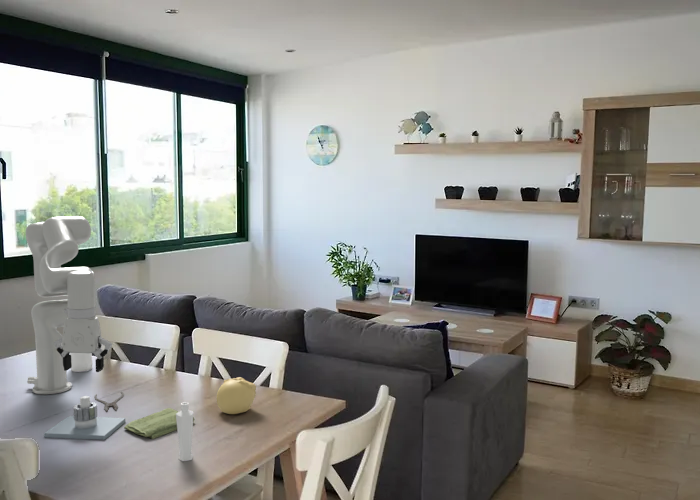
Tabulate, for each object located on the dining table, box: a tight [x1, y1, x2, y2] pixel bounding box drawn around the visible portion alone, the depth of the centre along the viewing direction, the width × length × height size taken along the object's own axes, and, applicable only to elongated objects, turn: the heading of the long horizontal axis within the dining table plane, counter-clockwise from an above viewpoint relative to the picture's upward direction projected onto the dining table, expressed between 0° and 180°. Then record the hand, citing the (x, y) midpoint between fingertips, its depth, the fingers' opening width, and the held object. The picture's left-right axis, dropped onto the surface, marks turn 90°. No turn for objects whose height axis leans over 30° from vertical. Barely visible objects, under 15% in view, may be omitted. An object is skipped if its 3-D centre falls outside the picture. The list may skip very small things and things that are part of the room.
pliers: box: [93, 391, 125, 413], centre depth 220 cm, size 10×1×20 cm
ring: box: [72, 401, 98, 421], centre depth 194 cm, size 6×6×4 cm
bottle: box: [69, 353, 93, 373], centre depth 255 cm, size 8×8×30 cm
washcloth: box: [123, 407, 195, 440], centre depth 197 cm, size 13×18×3 cm
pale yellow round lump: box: [215, 376, 257, 415], centre depth 210 cm, size 11×12×11 cm
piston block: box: [43, 395, 126, 441], centre depth 194 cm, size 18×14×10 cm
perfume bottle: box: [176, 401, 194, 462], centre depth 174 cm, size 5×4×15 cm
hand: (83, 370), depth 193 cm, fingers open, 9 cm apart
